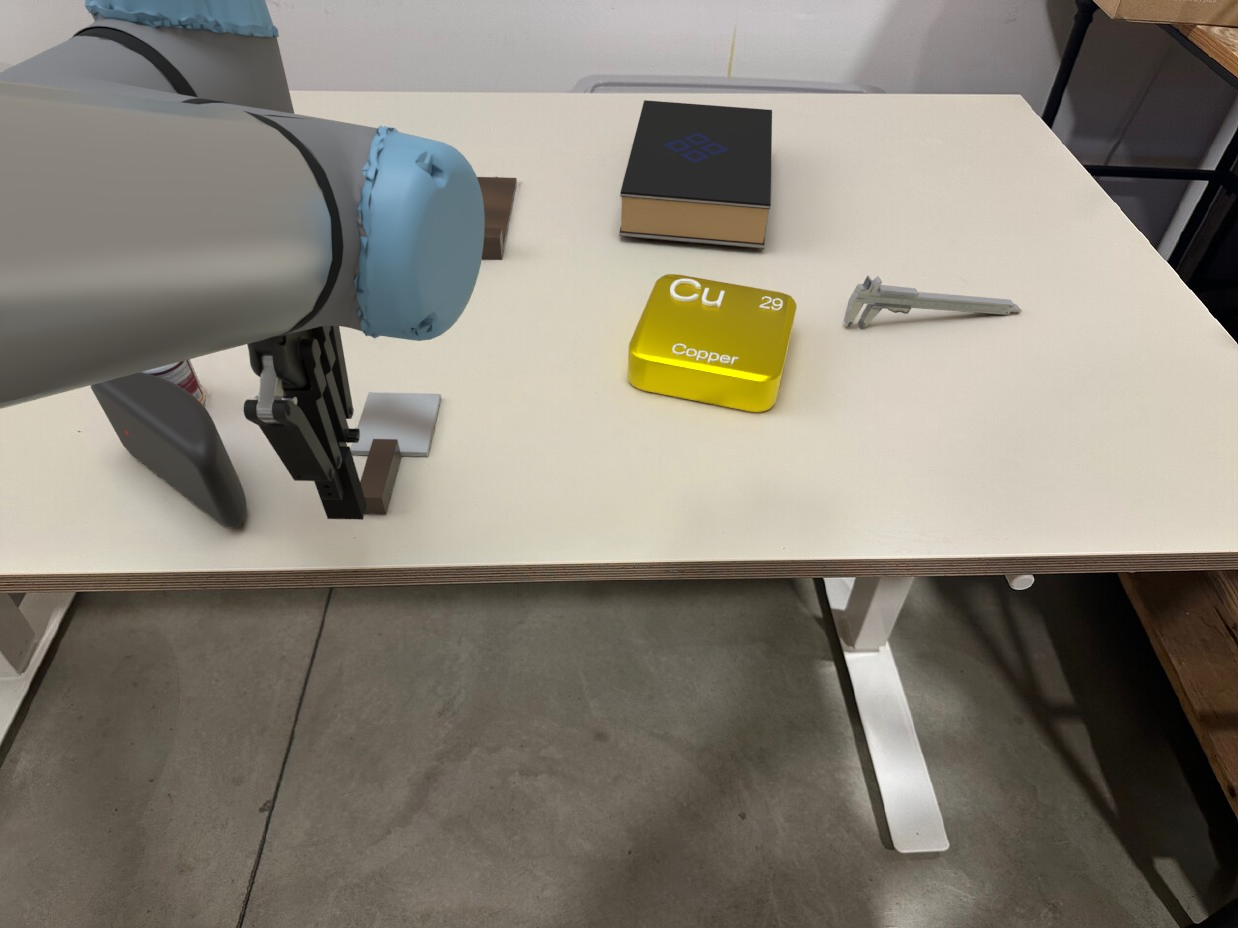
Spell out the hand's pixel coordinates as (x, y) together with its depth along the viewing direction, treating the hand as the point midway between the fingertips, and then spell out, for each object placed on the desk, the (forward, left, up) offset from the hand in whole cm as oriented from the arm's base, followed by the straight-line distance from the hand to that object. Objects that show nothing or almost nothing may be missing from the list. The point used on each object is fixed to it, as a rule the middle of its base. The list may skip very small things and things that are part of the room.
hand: (347, 511), depth 67 cm
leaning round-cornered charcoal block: (-5, +18, -6) cm, 19 cm away
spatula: (+10, +8, -6) cm, 14 cm away
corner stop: (+37, +28, -6) cm, 47 cm away
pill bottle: (+1, +28, -6) cm, 28 cm away
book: (+66, +13, -6) cm, 67 cm away
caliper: (+61, -22, -6) cm, 65 cm away
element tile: (+40, -7, -6) cm, 41 cm away
